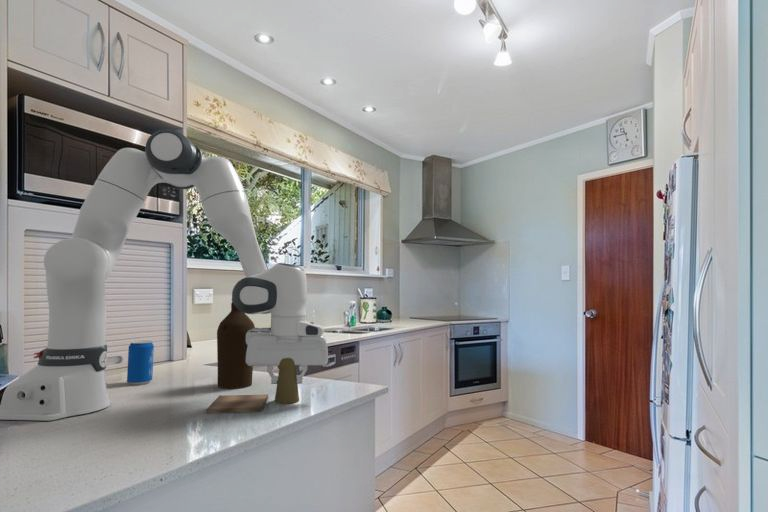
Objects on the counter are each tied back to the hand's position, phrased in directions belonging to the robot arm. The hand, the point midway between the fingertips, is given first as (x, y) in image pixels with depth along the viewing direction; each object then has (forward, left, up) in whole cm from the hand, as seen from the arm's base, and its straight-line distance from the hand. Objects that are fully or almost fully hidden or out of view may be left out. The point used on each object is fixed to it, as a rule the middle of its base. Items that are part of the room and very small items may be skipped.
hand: (287, 383), depth 110 cm
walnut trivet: (-11, -3, -4) cm, 12 cm away
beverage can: (-44, +25, -5) cm, 51 cm away
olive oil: (-16, +19, -5) cm, 26 cm away
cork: (0, 0, -4) cm, 4 cm away
